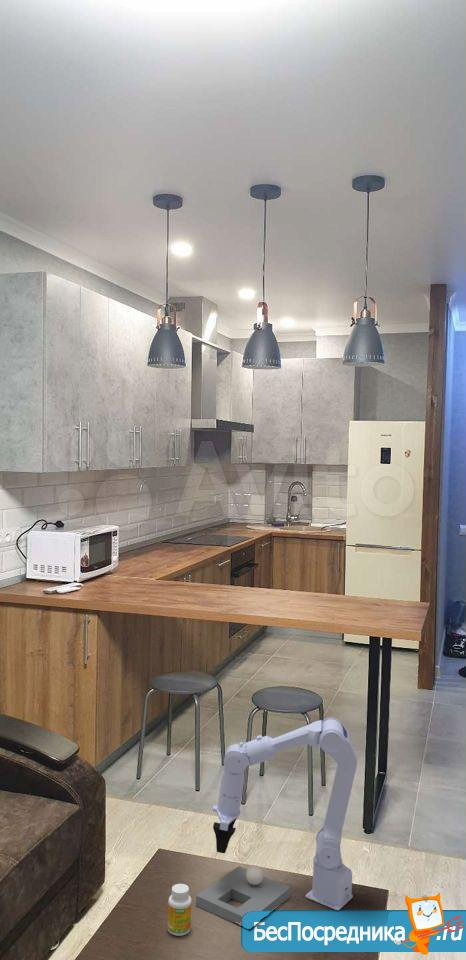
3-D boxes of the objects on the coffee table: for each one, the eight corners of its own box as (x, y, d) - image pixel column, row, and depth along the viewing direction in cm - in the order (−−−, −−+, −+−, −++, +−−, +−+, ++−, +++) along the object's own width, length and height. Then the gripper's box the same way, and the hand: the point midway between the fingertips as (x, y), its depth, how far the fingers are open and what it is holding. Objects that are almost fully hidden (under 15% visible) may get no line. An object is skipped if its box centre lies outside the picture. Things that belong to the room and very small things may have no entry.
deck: (290, 897, 195) (290, 887, 195) (249, 930, 180) (249, 920, 180) (238, 875, 204) (238, 866, 204) (195, 905, 190) (196, 895, 190)
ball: (266, 883, 197) (267, 865, 196) (256, 890, 193) (257, 873, 193) (252, 877, 199) (252, 860, 199) (242, 884, 196) (242, 867, 195)
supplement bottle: (172, 938, 176) (174, 896, 176) (163, 926, 181) (165, 884, 181) (194, 933, 179) (195, 891, 179) (184, 920, 184) (186, 879, 183)
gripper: (219, 778, 206) (212, 828, 206) (211, 802, 191) (203, 855, 192) (245, 783, 205) (238, 833, 205) (239, 807, 191) (231, 861, 191)
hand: (223, 844), depth 199 cm, fingers open, 7 cm apart
